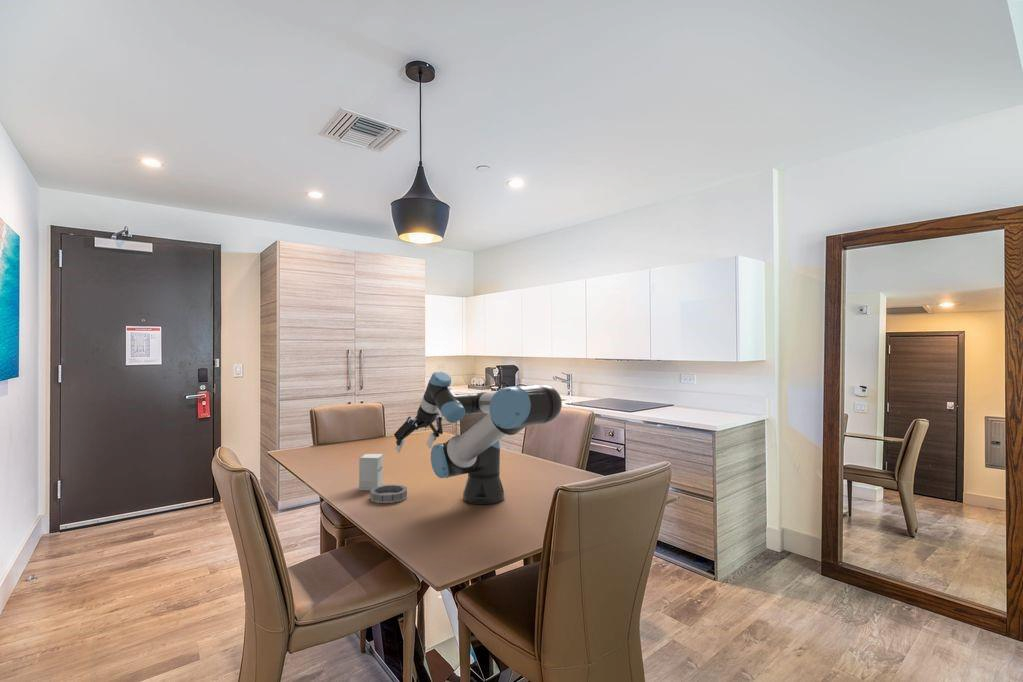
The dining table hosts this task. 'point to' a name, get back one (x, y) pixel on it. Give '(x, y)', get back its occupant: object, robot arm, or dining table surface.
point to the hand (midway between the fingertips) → (413, 448)
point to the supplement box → (370, 471)
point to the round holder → (388, 493)
